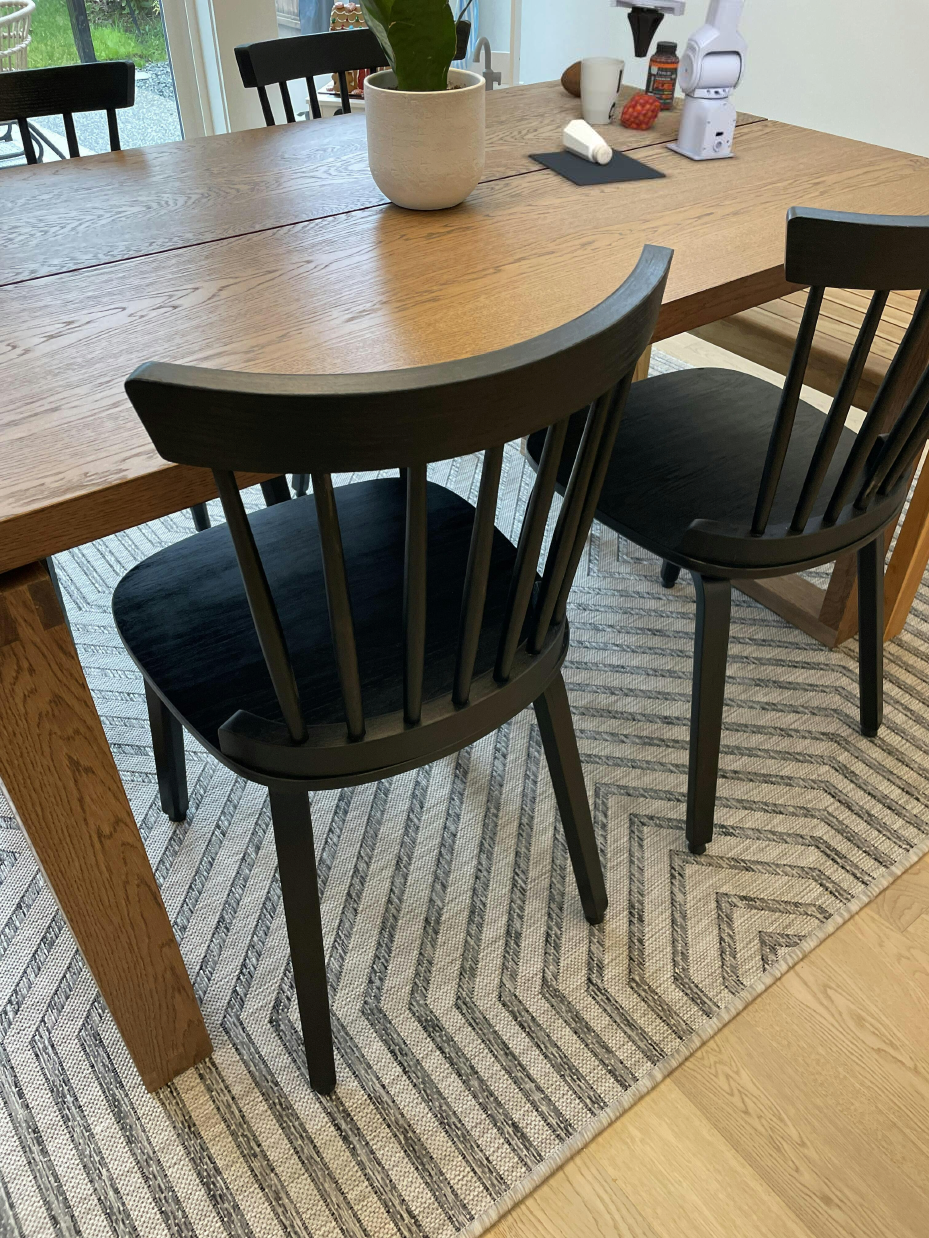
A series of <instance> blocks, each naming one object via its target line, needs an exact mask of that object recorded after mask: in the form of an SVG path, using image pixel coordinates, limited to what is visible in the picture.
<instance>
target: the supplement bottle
mask: <svg viewBox="0 0 929 1238" xmlns="http://www.w3.org/2000/svg"><path fill="white" fill-rule="evenodd" d="M677 50H678V43H677V42H675V41H669V40H661V41H660V40H659V41H657V42H656V48H655V52H654V53H653V54H651V56H650V58H649V61H648V68H647V75H646V82H645V87H644V88H645V89H644V94H647V95H654V96H655V97H656V98H657V99H658V100H659V101H660V102H661V103H662V105H661V108H660V111H664V110H666V111H667V110H670V109H671V108H673V105H674V98H675V92H676V88H677V86H676V85H677V82H678V78H677V70H678V64H679V61H680V57H679V56H678V55H677Z"/></svg>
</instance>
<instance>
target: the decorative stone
mask: <svg viewBox="0 0 929 1238" xmlns="http://www.w3.org/2000/svg"><path fill="white" fill-rule="evenodd" d="M661 105H662V103H661V102H660V101H659V100H658V99H657V98H656V97H655V96H654V95H647V94H645V93H635V94H634V95H633V97H632V98H630V100H629V101H627V103H625V104H624V105H623V108H622V111H621V114H620V118H619V121H620V122H621V123H622V124H623V125H624V126H625V127H626V128H627V129H630V130H637V131H646V130H647V129H648V128H649V127H650V126H651V125H652V124H653V123H654V122H655V121H656V120H657V119H658V118H659V115H660V111H661V110H660V108H661Z"/></svg>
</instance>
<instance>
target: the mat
mask: <svg viewBox="0 0 929 1238" xmlns="http://www.w3.org/2000/svg"><path fill="white" fill-rule="evenodd" d="M609 147H610V146H609ZM610 148H611V150H612V157H611V159H610V161H609V162H608V163H606V164H600V163H598V162H591V161H588V160H586V159H584V158H582V157H580V156H578V155H576V154H574V153H572V152H569V151H567V150H566V151H565V150H563V151H553V152H543V153H531V154H528V157H529V158H531V159H532V160H534V161H535V162H537V163H539V164H541V165H543V166H544V167H546V168H548V169H549V170H551V171H552V172H554V173H556V174H557V175H560V176H561V177H563V178H565V179H566V180H568V181H569V182H571V183H573V184H575V185H576V186H579V187H582V186H590V185H592V186H593V185H603V184H609V183H610V184H611V183H620V182H622V183H623V182H631V181H640V180H641V181H642V180H650V179H661V178H667V175H666V174H664V173H663V172H661V171H659V170H657V169H655V168H652V167H650V166H649V165H647V164H645V163H643V162H640V161H638V160H637V159H635V158H633V157H630V156H629V155H627V154H625V153H623V152H621V151H619V150H616V149H614V148H613V147H612V146H611V147H610Z"/></svg>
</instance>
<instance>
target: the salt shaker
mask: <svg viewBox="0 0 929 1238" xmlns="http://www.w3.org/2000/svg"><path fill="white" fill-rule="evenodd" d="M561 144H562V146H563V147H564V149H565V150H566V151H569V152H572V153H574V154H576V155H578V156H580V157H582V158H584V159H586V160H588V161H591V162H598V163H600V164H606V163H608V162H609V161H610V159H611V157H612V150H611V148H612V147H611V148H610V146H609V145H608V144H607V142H606V141H605V140H604V139H603V137H602V136H601V135H600V134H599V133H597V131H596V130H594V129H593V128H592V127H591V125H589V123H587V122H585V121H584V119H572V120H571V121H569V123H568V124H567V125H566V126H565V127H564V129H563V130H562V140H561Z"/></svg>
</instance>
